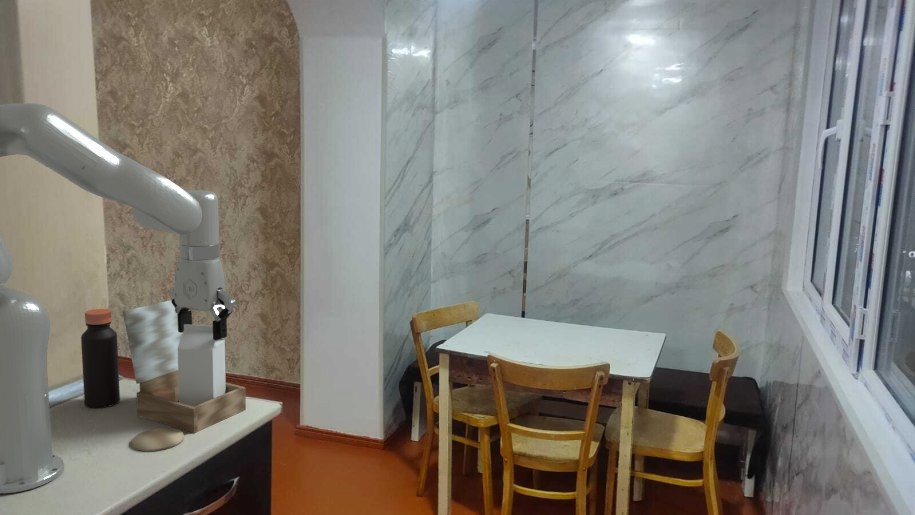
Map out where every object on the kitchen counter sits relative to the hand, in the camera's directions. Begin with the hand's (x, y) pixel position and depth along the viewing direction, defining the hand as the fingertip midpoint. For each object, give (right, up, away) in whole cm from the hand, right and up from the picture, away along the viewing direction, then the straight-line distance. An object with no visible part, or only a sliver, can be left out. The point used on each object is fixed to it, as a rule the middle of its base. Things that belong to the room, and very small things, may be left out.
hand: (202, 334), depth 143 cm
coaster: (-4, -19, -11) cm, 22 cm away
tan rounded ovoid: (-8, -17, +1) cm, 19 cm away
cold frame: (-4, -16, +3) cm, 17 cm away
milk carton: (-1, -17, +3) cm, 17 cm away
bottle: (-24, -15, +6) cm, 29 cm away
